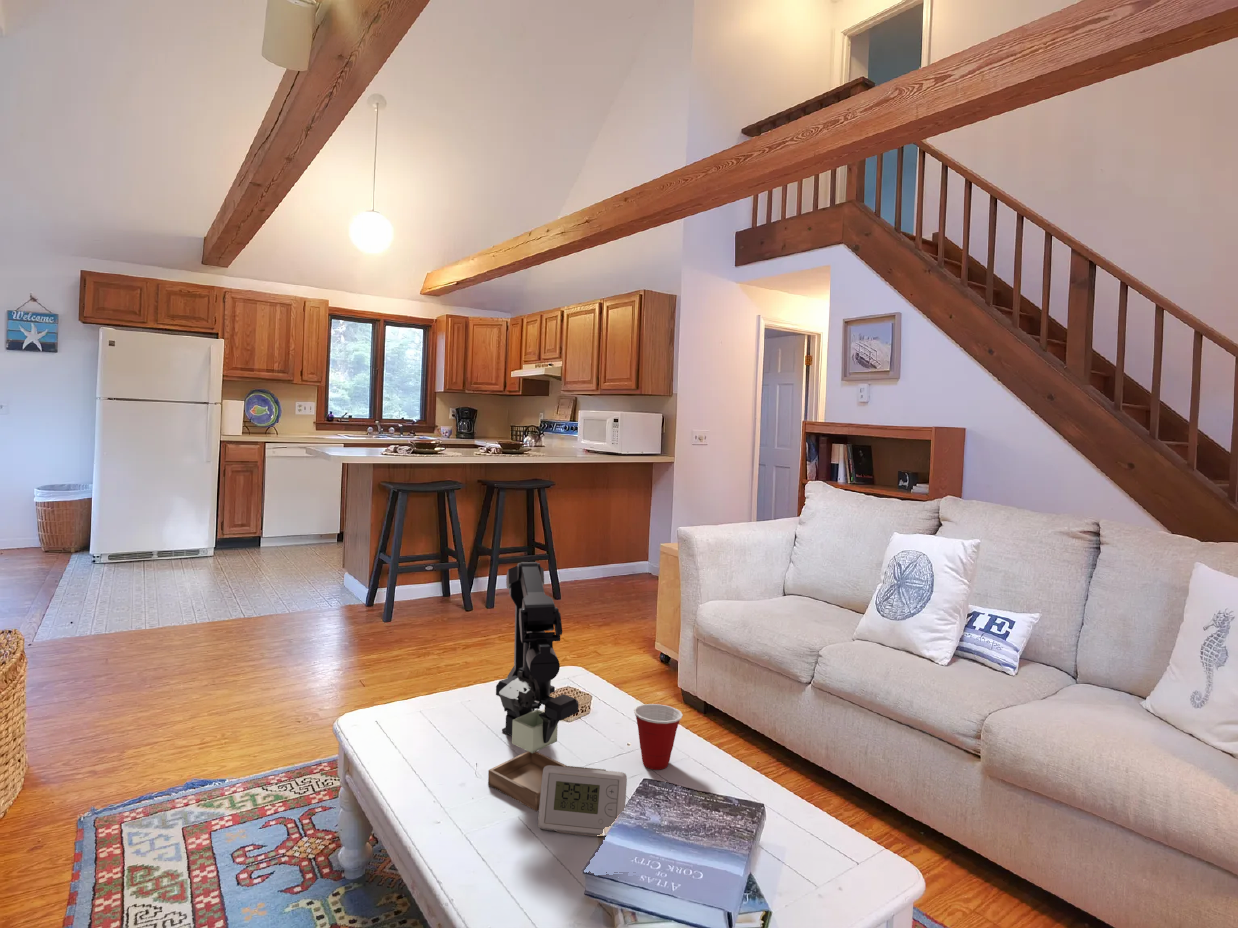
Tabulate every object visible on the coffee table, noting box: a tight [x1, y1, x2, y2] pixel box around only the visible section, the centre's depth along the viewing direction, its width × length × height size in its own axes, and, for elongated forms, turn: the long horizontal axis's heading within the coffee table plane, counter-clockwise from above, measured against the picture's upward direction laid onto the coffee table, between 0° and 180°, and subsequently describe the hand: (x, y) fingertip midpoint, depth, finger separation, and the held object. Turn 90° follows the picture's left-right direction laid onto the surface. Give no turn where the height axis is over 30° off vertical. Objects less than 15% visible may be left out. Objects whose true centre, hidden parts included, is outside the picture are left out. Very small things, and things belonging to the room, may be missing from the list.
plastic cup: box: [633, 703, 684, 771], centre depth 155 cm, size 11×11×12 cm
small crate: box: [511, 709, 559, 753], centre depth 143 cm, size 7×6×5 cm
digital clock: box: [537, 765, 628, 837], centre depth 130 cm, size 16×9×11 cm, turn 72°
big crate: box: [487, 751, 567, 812], centre depth 143 cm, size 12×14×3 cm
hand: (535, 737), depth 143 cm, fingers closed on small crate, 6 cm apart
